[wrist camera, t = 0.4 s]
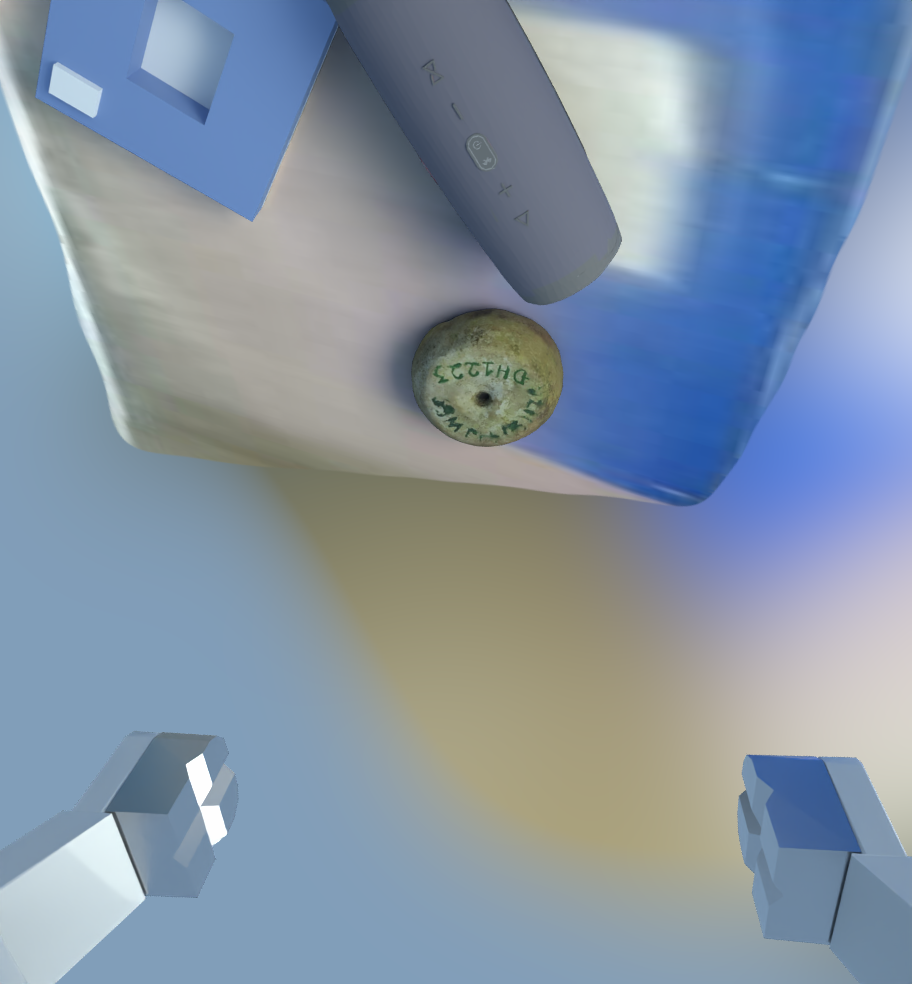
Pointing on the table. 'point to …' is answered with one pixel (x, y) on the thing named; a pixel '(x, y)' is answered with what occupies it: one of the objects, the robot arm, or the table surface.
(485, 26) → the bluetooth speaker
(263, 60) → the socket
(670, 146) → the table surface
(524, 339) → the weight
